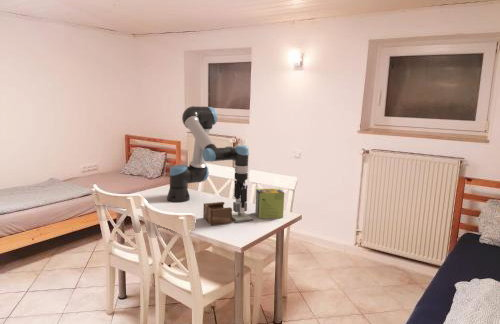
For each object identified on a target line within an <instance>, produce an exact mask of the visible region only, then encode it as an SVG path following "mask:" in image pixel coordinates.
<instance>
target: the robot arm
mask: <svg viewBox="0 0 500 324" xmlns="http://www.w3.org/2000/svg"><path fill="white" fill-rule="evenodd" d="M217 114H218V113H217V111H216V109H215V108H213V107H212V106H194V105H193V106H189V107H187V108H186V109H185V110H184V111H183V113H182V117H181V120H182V123H183V125H184V127H185V128H186V129H187V130H189V131H190V133H191V135H192V136H193V138H194V146H193V153H192V160H191V161H190V162H189V165H187V164H175V165H173V166H171V167H170V168H169V190H168V192H167V197H166V199H167V201H168V202H172V203H184V202H187V201H190V198H191V197H190V196H191V195H190V192H189V190H188V184H194V183H201V182H205V181H207V179H208V178H209V174H210V172H209V167H208V166H207V163H206V162H221V161H223V162H225V161H234V182H233V183H234V190H233V192H234V193H233V197H234V198H235V202H240V213H246V211H245V202H246V203H248V185H247V184H246V181H247V180H248V179H249V178H248V176H249V174H248V173H249V155H250V153H249V146H248V145H243V144H242V145H241V144H240V145H236V146H235V147H234V146H228V145H227V146H225V147H217V146H216V145H215V143H214V142H213V140H212V139H211V137H210V136H209V135H210V131H211V130H212V129H213V126H214V125H216V124H217V121H218V115H217Z"/></svg>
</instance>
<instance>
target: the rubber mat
mask: <svg viewBox="0 0 500 324" xmlns="http://www.w3.org/2000/svg"><path fill="white" fill-rule="evenodd" d="M254 221H255V219H254V218H252V219H250V220H242V221H235V220H233V219H232V223H235V224H240V223H248V222H254Z"/></svg>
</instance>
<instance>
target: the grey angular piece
mask: <svg viewBox="0 0 500 324" xmlns="http://www.w3.org/2000/svg"><path fill="white" fill-rule="evenodd" d="M247 210H248V202H245V212H244V213H240V202H236V201H233V203H232V219H233V220H235V221H242V220H250V219H253V218H252V217H251V216H249V215H248V214H247V213H246V212H247Z"/></svg>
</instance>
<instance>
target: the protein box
mask: <svg viewBox="0 0 500 324" xmlns="http://www.w3.org/2000/svg"><path fill="white" fill-rule="evenodd" d="M255 194H256V195H255V211H254V212H255V215H256V216H257V218H258V219H283V218H284V205H285V192H284V191H283V190H282V189H281V188H256V189H255Z"/></svg>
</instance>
